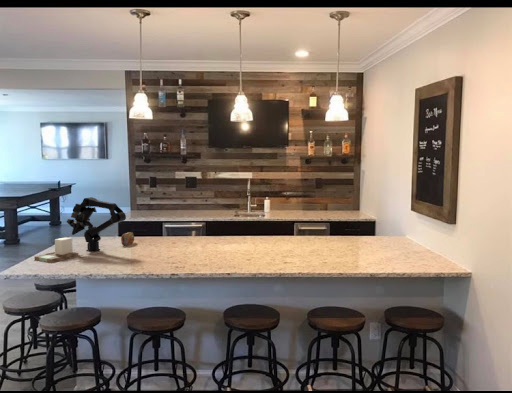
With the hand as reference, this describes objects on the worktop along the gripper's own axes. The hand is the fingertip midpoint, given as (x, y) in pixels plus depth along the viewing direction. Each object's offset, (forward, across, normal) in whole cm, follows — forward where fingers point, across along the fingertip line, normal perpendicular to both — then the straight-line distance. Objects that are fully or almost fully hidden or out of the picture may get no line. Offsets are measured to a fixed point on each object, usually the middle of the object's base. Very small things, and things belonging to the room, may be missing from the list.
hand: (72, 234), depth 279 cm
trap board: (+18, 0, 0) cm, 18 cm away
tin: (-19, +9, +37) cm, 43 cm away
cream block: (+12, 0, +2) cm, 13 cm away
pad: (+22, 0, -5) cm, 23 cm away
